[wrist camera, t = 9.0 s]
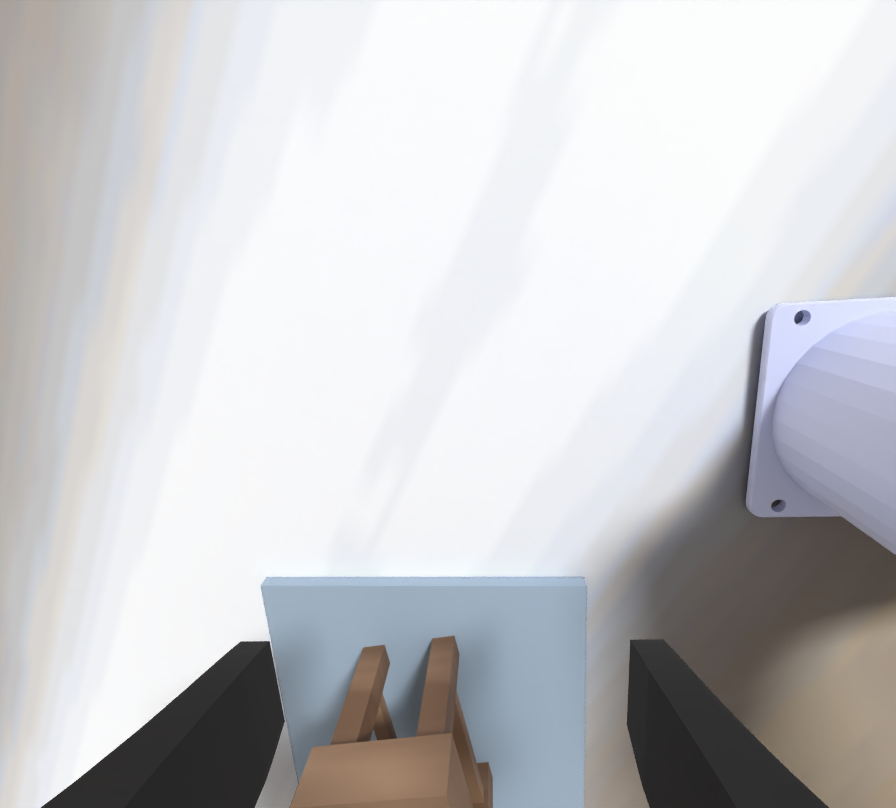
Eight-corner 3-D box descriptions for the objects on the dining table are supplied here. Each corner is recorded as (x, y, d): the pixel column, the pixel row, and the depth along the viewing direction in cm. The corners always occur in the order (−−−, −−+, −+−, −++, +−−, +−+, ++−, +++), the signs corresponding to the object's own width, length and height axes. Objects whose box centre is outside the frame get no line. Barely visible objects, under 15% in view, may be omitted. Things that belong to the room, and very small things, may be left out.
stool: (502, 783, 23) (506, 994, 16) (402, 791, 24) (367, 996, 17) (461, 626, 21) (446, 795, 14) (352, 640, 22) (289, 807, 15)
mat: (584, 577, 20) (586, 586, 20) (581, 821, 24) (583, 834, 24) (266, 577, 22) (260, 585, 21) (309, 808, 26) (305, 820, 25)
